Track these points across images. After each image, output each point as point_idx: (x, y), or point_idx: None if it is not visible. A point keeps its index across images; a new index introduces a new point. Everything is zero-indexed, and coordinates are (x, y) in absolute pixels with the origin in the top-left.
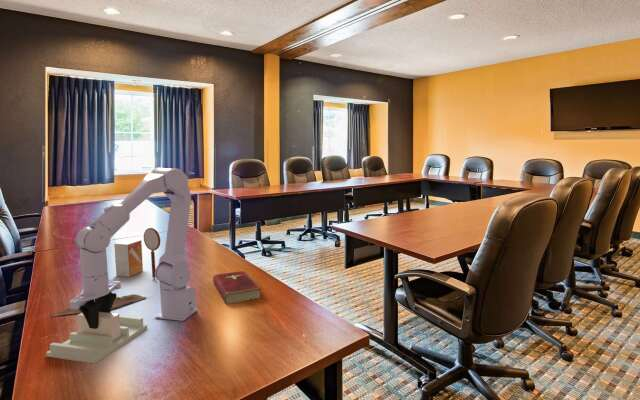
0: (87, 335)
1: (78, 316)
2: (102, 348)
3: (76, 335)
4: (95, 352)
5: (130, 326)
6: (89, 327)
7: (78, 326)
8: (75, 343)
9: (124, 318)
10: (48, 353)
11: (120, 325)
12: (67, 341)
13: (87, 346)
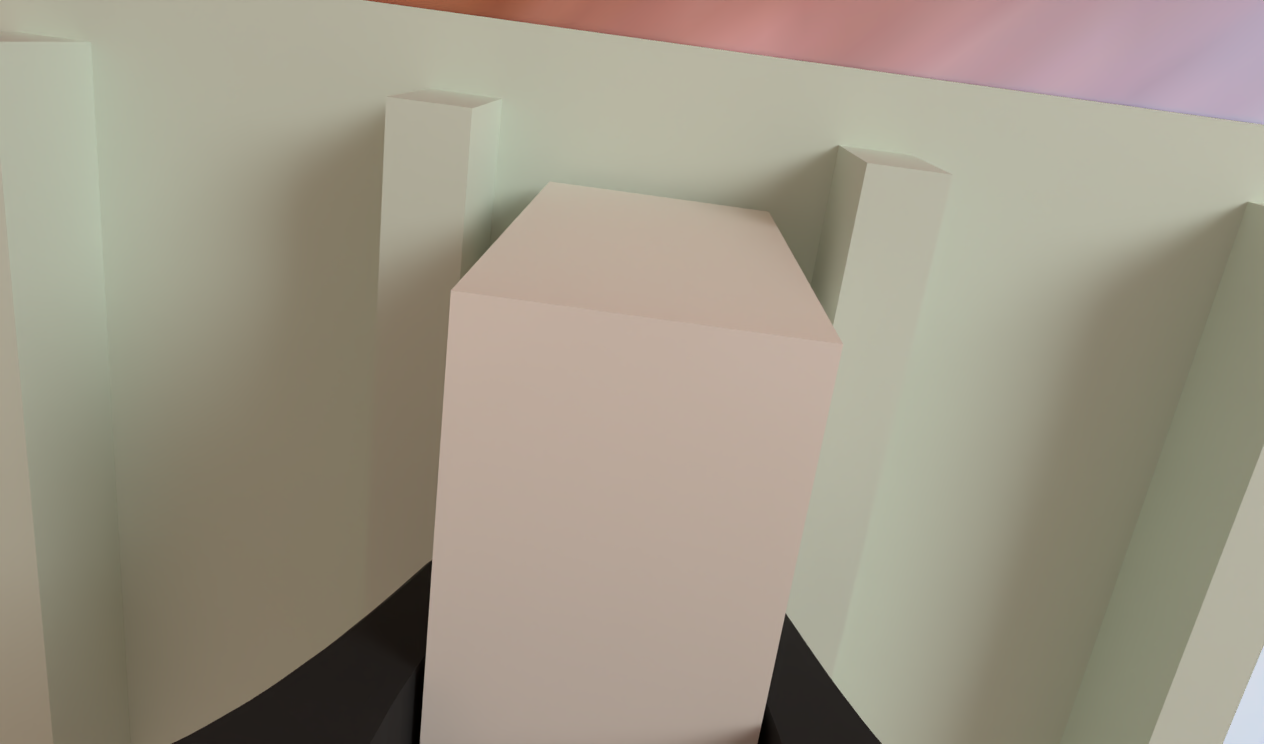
0: (387, 500)
1: (455, 325)
2: None
3: (385, 267)
4: (212, 697)
5: (1018, 742)
6: (425, 566)
7: (519, 223)
8: (370, 248)
9: (1149, 704)
10: (3, 7)
11: (1059, 585)
12: (407, 45)
13: (323, 502)
